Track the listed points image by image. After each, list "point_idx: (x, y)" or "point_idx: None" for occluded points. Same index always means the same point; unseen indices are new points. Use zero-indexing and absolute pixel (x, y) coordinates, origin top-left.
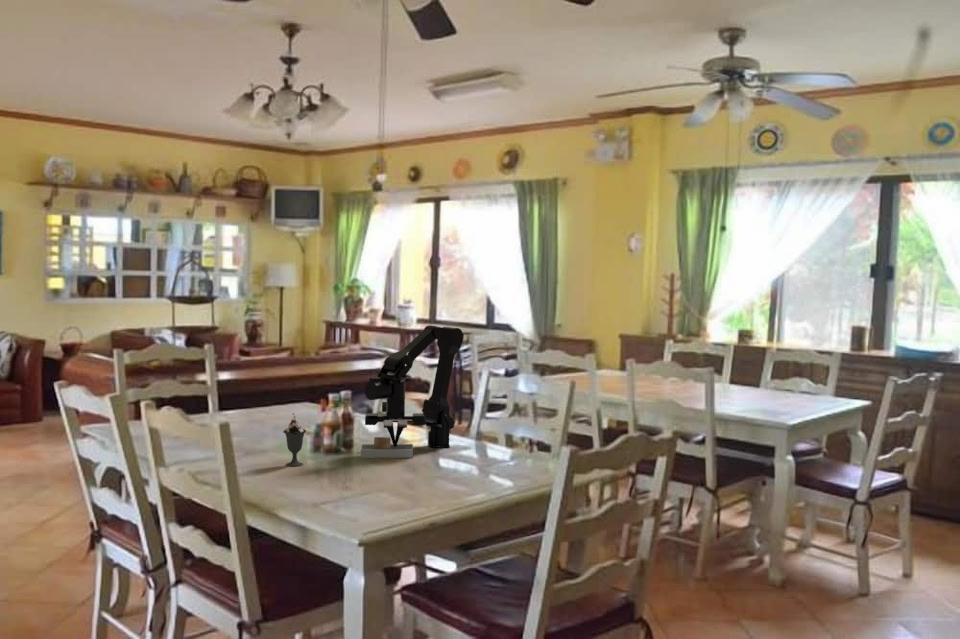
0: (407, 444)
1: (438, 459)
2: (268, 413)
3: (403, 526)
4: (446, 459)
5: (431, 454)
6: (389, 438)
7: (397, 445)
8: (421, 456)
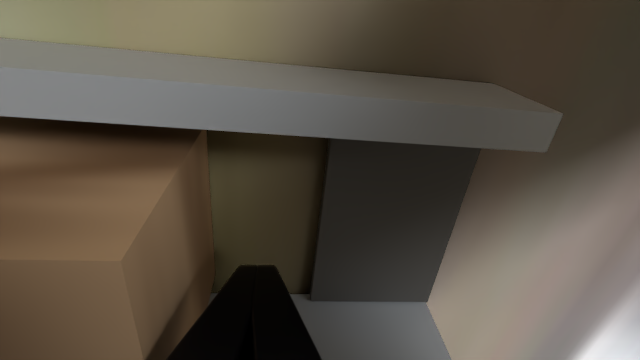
0: (470, 139)
1: (580, 346)
2: None
3: None
4: (631, 345)
5: (624, 210)
6: (124, 357)
7: (305, 128)
8: (502, 272)
